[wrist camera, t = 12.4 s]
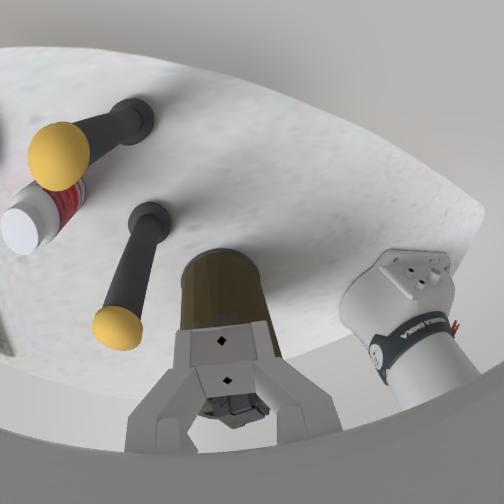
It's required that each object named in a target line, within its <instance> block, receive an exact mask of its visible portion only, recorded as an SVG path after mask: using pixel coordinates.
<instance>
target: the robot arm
mask: <svg viewBox="0 0 504 504" xmlns="http://www.w3.org/2000/svg"><path fill="white" fill-rule="evenodd" d="M394 258H395V259H394ZM449 269H450V261H449V257H448V255H447V254H446V253H439V252H420V251H402V250H388V251H386V252H384V253H383V254H382V255H381V257H380V258H379V259H378V261H377V262H376V263H375V265H374V266H373V267H372V268H371V269H369V270H368V271H367V272H365V273H364V274H363V275H361V276H360V277H359V278H358V279H357V280H356V281H355V282H354V283H353V284H352V285H351V287H350V288H349V289H348V291H347V292H346V294H345V296H344V298H343V300H342V303H341V306H340V318H341V321H342V323H343V324H344V325H345V326H346V327H347V328H348V329H350V330H351V331H352V332H353V333H354V334H355V335H356V336H357V337H358V339H359V340H360V341H361V342H362V344H363V345H364V346H365V347H366V349H367V350H368V352H369V355H370V358H371V360H372V362H373V364H374V366H375V368H376V370H377V372H378V373H379V375H380V377H381V379H382V380H383V382H384V383H385V384H386V385H387V386H389V387H390V389H391V391H392V392H393V395H394V396H395V399H396V401H397V403H398V405H399V406H400V408H401V410H402V412H399V413H397V414H394V415H391V416H389V417H386V418H383V419H380V420H377V421H374V422H371V423H368V424H365V425H362V426H358V427H355V428H352V429H348V430H344V431H343V429H342V426H341V423H340V420H339V418H338V415H337V412H336V409H335V406H334V403H333V400H332V397H331V396H330V395H329V394H327V393H326V392H325V391H323V390H322V389H321V388H319V387H318V386H317V385H315V384H314V383H313V382H312V381H310V380H309V379H307V378H306V377H305V376H304V375H302V374H301V373H300V372H299V371H297V370H296V369H295V368H293V367H292V366H291V365H290V364H288V363H287V362H286V361H285V360H283V359H282V358H281V357H275V354H274V350H273V346H272V342H271V337H270V333H269V329H268V325H267V322H266V321H265V320H264V321H258V322H251V323H244V324H237V325H229V326H222V327H213V328H201V329H192V330H178V331H177V332H176V336H175V348H174V361H173V369H168V370H167V372H166V373H165V374H164V375H163V376H162V378H161V379H160V380H159V381H158V382H157V384H156V385H155V386H154V387H153V388H152V389H151V391H150V392H149V393H148V394H147V395H146V397H145V398H144V399H143V400H142V401H141V403H140V404H139V405H138V406H137V407H136V408H135V410H134V411H133V412H132V413H131V414H130V416H129V417H128V424H127V433H126V441H125V451H124V452H115V451H106V450H97V449H89V448H82V447H76V446H70V445H65V444H60V443H55V442H49V441H45V440H41V439H37V438H33V437H29V436H25V435H21V434H18V433H14V432H11V431H8V430H5V429H1V428H0V504H504V361H503V362H501V363H500V364H498V365H496V366H495V367H493V368H491V369H490V370H488V371H486V372H485V373H483V374H481V373H480V372H479V371H478V370H477V369H476V367H475V366H474V365H473V364H472V362H471V361H470V360H469V358H468V357H467V356H466V354H465V353H464V352H463V351H462V349H461V348H460V347H459V345H458V344H457V343H456V342H455V340H454V338H455V336H454V335H455V333H456V331H457V329H458V327H459V325H460V324H458V325H457V327H456V323H457V321H456V320H455V322H454V323H453V326H452V328H451V327H450V323H449V320H448V316H449V312H450V309H451V306H452V302H453V299H454V294H455V286H454V283H453V281H452V279H451V278H450V276H449ZM455 327H456V329H455ZM247 393H256V394H257V395H258V396H259V397H260V398H261V399H262V400H263V401H264V402H265V404H266V405H267V406H268V407H269V408H270V409H271V410H273V412H274V413H275V414H276V415H277V445H276V446H270V447H263V448H256V449H248V450H240V451H229V452H218V453H200V454H198V449H197V448H196V446H195V445H194V443H193V442H192V440H191V439H190V437H189V436H188V434H187V432H188V430H189V428H190V427H191V425H192V423H193V422H194V420H195V418H196V417H197V415H198V413H199V412H200V410H201V408H202V406H203V405H204V403H205V401H206V398H211V397H220V396H228V395H237V394H247Z"/></svg>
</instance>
